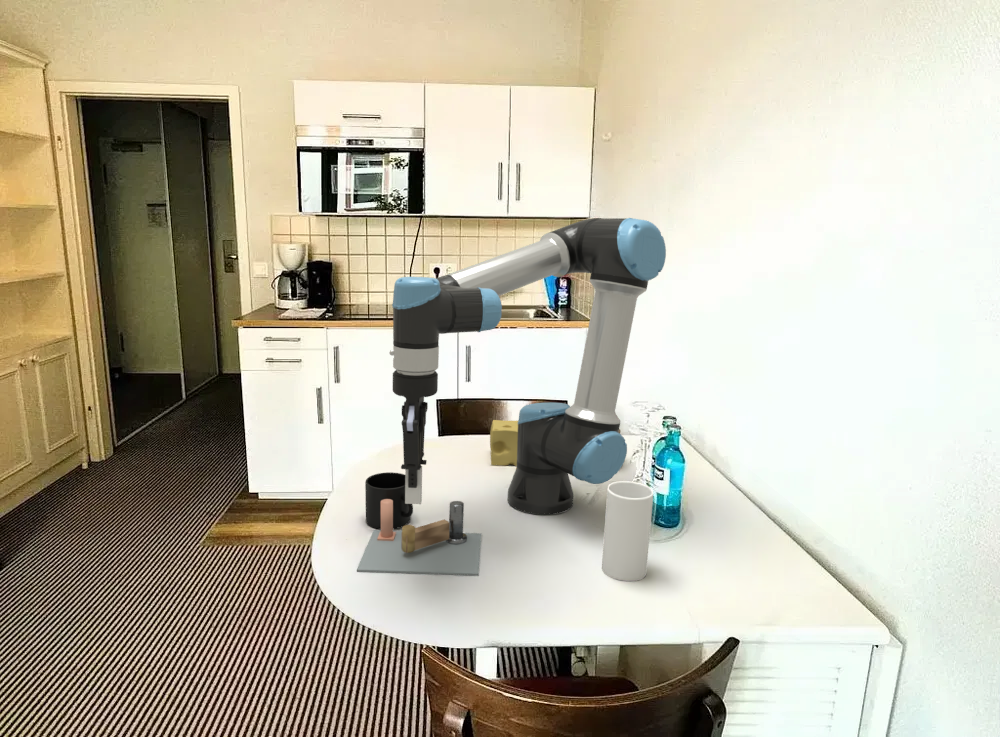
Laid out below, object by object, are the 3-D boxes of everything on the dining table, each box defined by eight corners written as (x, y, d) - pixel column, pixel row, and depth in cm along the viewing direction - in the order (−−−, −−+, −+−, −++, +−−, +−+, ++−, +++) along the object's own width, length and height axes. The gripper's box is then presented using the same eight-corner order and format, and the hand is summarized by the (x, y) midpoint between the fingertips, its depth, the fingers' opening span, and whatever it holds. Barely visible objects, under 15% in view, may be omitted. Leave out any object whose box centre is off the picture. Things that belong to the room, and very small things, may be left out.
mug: (395, 538, 133) (395, 496, 131) (356, 520, 140) (355, 480, 138) (428, 523, 140) (429, 483, 138) (389, 507, 148) (389, 468, 146)
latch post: (396, 535, 134) (396, 498, 133) (393, 542, 131) (393, 505, 130) (380, 534, 134) (380, 497, 133) (377, 542, 131) (377, 504, 130)
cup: (636, 586, 119) (644, 502, 115) (594, 572, 123) (600, 491, 119) (652, 567, 125) (659, 487, 122) (611, 554, 130) (617, 477, 126)
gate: (443, 535, 132) (443, 514, 131) (450, 539, 130) (450, 518, 129) (399, 548, 126) (399, 526, 125) (406, 553, 124) (406, 531, 123)
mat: (481, 535, 136) (481, 533, 136) (478, 575, 120) (478, 573, 120) (373, 531, 136) (373, 529, 136) (356, 571, 120) (356, 569, 120)
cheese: (529, 467, 175) (531, 431, 173) (488, 466, 175) (489, 429, 173) (528, 454, 185) (529, 419, 183) (489, 452, 185) (490, 418, 183)
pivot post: (467, 536, 135) (468, 499, 133) (466, 546, 131) (467, 508, 129) (445, 535, 135) (446, 498, 133) (443, 546, 131) (444, 508, 129)
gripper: (399, 361, 118) (397, 487, 123) (386, 378, 105) (385, 517, 110) (441, 363, 118) (438, 488, 123) (433, 380, 105) (430, 519, 110)
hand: (413, 502), depth 116 cm, fingers closed
